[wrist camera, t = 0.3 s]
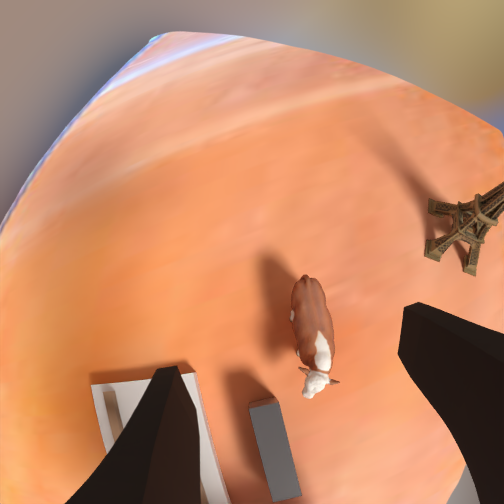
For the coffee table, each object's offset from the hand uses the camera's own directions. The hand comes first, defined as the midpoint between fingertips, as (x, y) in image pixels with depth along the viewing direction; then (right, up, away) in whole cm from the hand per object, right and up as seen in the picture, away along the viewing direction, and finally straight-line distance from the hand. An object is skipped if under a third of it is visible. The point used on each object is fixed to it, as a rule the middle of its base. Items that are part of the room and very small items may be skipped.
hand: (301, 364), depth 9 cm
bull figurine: (+5, -7, +28) cm, 29 cm away
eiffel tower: (+31, +6, +33) cm, 45 cm away
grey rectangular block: (+1, -20, +23) cm, 30 cm away
